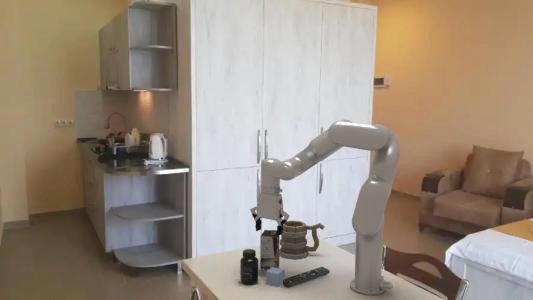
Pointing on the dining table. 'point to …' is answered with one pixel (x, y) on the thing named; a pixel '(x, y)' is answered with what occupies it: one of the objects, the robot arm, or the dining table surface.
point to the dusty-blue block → (274, 276)
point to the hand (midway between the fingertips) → (268, 232)
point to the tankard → (297, 239)
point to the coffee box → (269, 251)
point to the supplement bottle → (249, 267)
